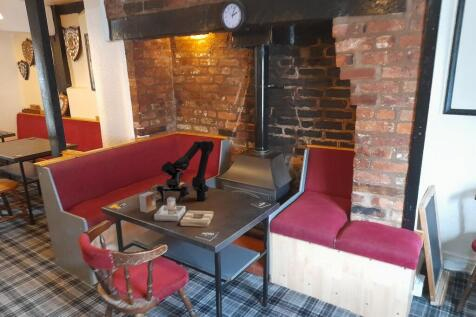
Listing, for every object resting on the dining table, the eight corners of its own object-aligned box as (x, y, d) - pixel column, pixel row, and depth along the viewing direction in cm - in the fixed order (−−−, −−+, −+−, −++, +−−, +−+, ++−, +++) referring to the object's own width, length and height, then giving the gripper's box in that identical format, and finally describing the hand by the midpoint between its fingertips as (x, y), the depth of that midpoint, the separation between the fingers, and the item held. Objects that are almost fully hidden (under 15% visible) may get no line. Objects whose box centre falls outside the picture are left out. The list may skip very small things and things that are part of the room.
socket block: (188, 214, 200) (188, 210, 200) (213, 215, 198) (213, 211, 197) (180, 225, 186) (180, 221, 185) (207, 226, 184) (207, 222, 183)
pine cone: (159, 195, 234) (157, 181, 231) (170, 197, 229) (169, 183, 227) (135, 206, 215) (134, 191, 213) (146, 208, 211) (145, 193, 208)
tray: (163, 210, 206) (162, 205, 206) (185, 211, 205) (185, 206, 204) (154, 220, 193) (154, 214, 192) (178, 221, 191) (178, 215, 190)
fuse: (169, 213, 200) (168, 196, 197) (178, 213, 199) (176, 196, 196) (166, 217, 195) (165, 199, 192) (175, 217, 194) (174, 200, 192)
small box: (146, 213, 204) (145, 196, 201) (140, 211, 206) (138, 195, 204) (156, 208, 210) (155, 192, 208) (149, 207, 213) (148, 191, 211)
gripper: (155, 172, 196) (150, 197, 188) (187, 173, 193) (182, 198, 185) (161, 181, 205) (156, 205, 198) (191, 181, 203) (187, 206, 195)
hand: (170, 203), depth 194 cm, fingers open, 9 cm apart
